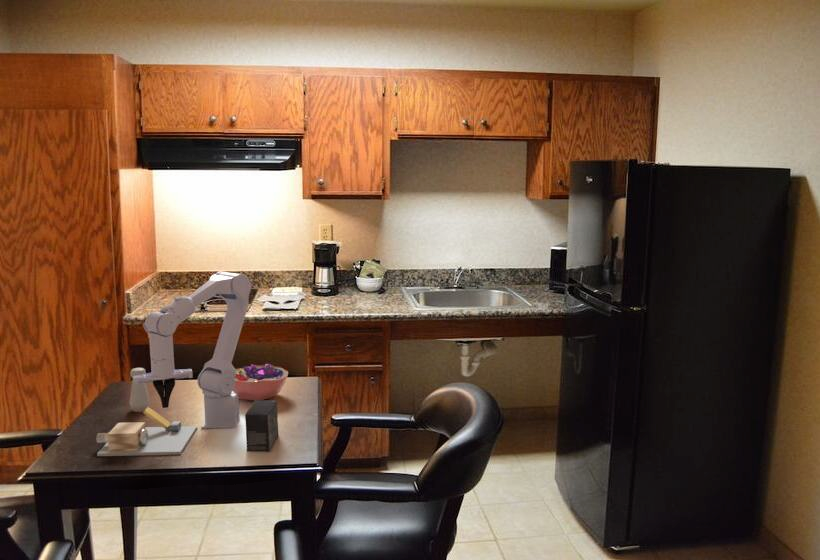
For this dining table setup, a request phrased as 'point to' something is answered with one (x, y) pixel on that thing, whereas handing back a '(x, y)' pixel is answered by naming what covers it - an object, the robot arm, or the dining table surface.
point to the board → (158, 442)
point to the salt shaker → (139, 392)
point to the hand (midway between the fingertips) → (165, 406)
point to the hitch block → (125, 436)
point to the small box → (261, 426)
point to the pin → (142, 437)
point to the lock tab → (157, 418)
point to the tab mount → (175, 426)
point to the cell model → (259, 382)
